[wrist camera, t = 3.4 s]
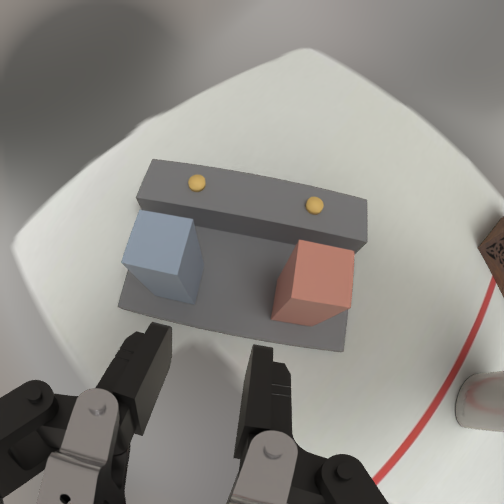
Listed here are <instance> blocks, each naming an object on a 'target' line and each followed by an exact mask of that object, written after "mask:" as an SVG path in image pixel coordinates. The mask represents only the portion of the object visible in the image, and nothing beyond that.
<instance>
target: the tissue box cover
mask: <svg viewBox="0 0 504 504" xmlns="http://www.w3.org/2000/svg"><path fill="white" fill-rule="evenodd" d="M478 249H479V251H480V253H481V255H482V256H483V258H484V260H485V262H486V264H487V265H488V267H489V269H490V271H491V273H492V275H493V277H494V279H495V281H496V283H497V285H498V287H499V289H500V291H501V293H502V295H503V297H504V217H502V218H501V219H500V221H499V222H498V223H497V225H496V226H495V227H494V228H493V230H492V231H491V232H490V234H489V235H488V236H487V237H486V239H485V240H484V241H483V242H482V243H481V245H480V246H479V247H478Z"/></svg>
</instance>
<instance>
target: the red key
mask: <svg viewBox="0 0 504 504" xmlns="http://www.w3.org/2000/svg"><path fill="white" fill-rule="evenodd" d="M353 271H354V251H352V250H347V249H343V248H338V247H333V246H328V245H323V244H319V243H314V242H309V241H304V240H299V241H298V242H297V244H296V246H295V248H294V250H293V252H292V254H291V255H290V257H289V259H288V261H287V263H286V265H285V266H284V268H283V270H282V272H281V274H280V276H279V277H278V279H277V285H276V291H275V297H274V303H273V309H272V315H271V320H275V321H281V322H286V323H292V324H299V325H305V326H311V327H312V326H314V325H316V324H318V323H321V322H323V321H325V320H327V319H329V318H331V317H333V316H335V315H337V314H339V313H341V312H343V311H345V310H347V309H349V308H351V299H352V286H353Z"/></svg>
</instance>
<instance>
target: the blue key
mask: <svg viewBox="0 0 504 504" xmlns="http://www.w3.org/2000/svg"><path fill="white" fill-rule="evenodd" d="M121 263H122V264H123V265H124V266H125V267H126V268H127V269H128V270H129V271H130V272H131V273H132V274H133V275H134V276H135V277H136V278H137V279H138V280H139V281H140V282H141V283H142V284H143V285H145V286H146V287H147V288H148V289H149V290H150V291H151V292H152V293H153V294H154V295H155V296H159V297H163V298H167V299H172V300H176V301H180V302H185V303H189V304H194V305H195V302H196V298H197V293H198V289H199V285H200V281H201V277H202V272H203V268H204V262H203V258H202V254H201V250H200V246H199V242H198V238H197V234H196V229H195V225H194V221H193V219H190V218H184V217H178V216H173V215H167V214H162V213H156V212H150V211H144V210H139V213H138V215H137V218H136V221H135V223H134V226H133V229H132V232H131V235H130V237H129V240H128V243H127V246H126V249H125V252H124V255H123V258H122V261H121Z"/></svg>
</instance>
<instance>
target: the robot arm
mask: <svg viewBox="0 0 504 504" xmlns="http://www.w3.org/2000/svg"><path fill="white" fill-rule="evenodd" d="M171 358H172V327H171V326H167V325H163V324H159V323H155V322H152V323H151V324H150V325H149V327H148V329H147V331H146V332H145V334H144V333H140V332H137V331H136V332H135V333H133V334H132V335H131V336H129V337H128V338H126V339H125V341H124V343H123V344H122V346H121V347H120V350H119V351H118V352H117V354H116V355H115V358H114V359H113V360H112V362H111V363H110V365H109V367H108V368H107V370H106V372H105V373H104V375H103V377H102V378H101V380H100V382H99V383H98V385H97V386H96V388H94V389H89V390H86V391H84V392H83V393H81V394H80V395H79V396H68V395H60V394H54V393H53V391H52V389H51V387H50V386H49V385H48V384H47V383H45V382H43V381H40V380H32V381H28V382H26V383H24V384H23V385H21V386H19V387H18V388H16V389H14V390H13V391H11V392H9V393H8V394H6V395H4V396H3V397H1V398H0V504H4V503H3V498H4V497H5V496H7V495H9V494H10V493H11V492H13V491H14V490H16V489H17V488H19V487H20V486H22V485H23V484H24V483H26V482H27V481H29V480H30V479H32V478H33V477H34V476H36V475H37V474H39V473H40V472H42V471H43V470H44V469H45V471H44V475H43V478H42V482H41V486H40V491H39V495H38V500H37V504H68V502H69V501H70V503H69V504H126V499H125V483H126V476H127V468H128V461H129V454H130V442H131V440H132V437H133V435H134V433H135V434H138V435H141V436H143V434H144V431H145V428H146V426H147V423H148V421H149V418H150V416H151V413H152V410H153V408H154V405H155V403H156V400H157V398H158V395H159V392H160V390H161V387H162V385H163V383H164V380H165V378H166V375H167V373H168V370H169V368H170V363H171ZM456 417H457V420H458V423H459V424H460V425H461V426H462V427H464V428H471V429H478V430H486V431H497V432H504V371H499V372H489V373H480V374H474V375H472V376H470V377H469V378H468V379H467V380H466V381H465V383H464V384H463V386H462V387H461V390H460V392H459V395H458V397H457V402H456ZM234 458H237V459H240V467H239V472H238V474H237V477H236V480H235V482H234V485H233V488H232V490H231V493H230V495H229V498H228V500H227V503H226V504H286V503H287V504H388V502H387V501H386V499H385V498H384V496H383V495H382V493H381V492H380V490H379V489H378V487H377V486H376V484H375V483H374V481H373V480H372V478H371V477H370V475H369V474H368V472H367V471H366V469H365V468H364V466H363V465H362V463H361V462H360V461H359V460H358V459H356V458H355V457H353V456H350V455H346V454H338V455H334V456H332V457H330V458H329V459H327V458H324V457H321V456H317V455H314V454H311V453H309V452H307V451H305V450H303V449H302V448H301V447H300V446H299V445H298V444H297V443H296V442H295V440H294V438H293V435H292V406H291V374H290V372H289V370H288V369H287V367H286V365H285V363H278V362H273V348H272V347H266V346H260V345H254V344H253V347H252V351H251V355H250V359H249V363H248V366H247V370H246V375H245V380H244V386H243V393H242V401H241V408H240V415H239V423H238V430H237V437H236V444H235V452H234Z"/></svg>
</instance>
